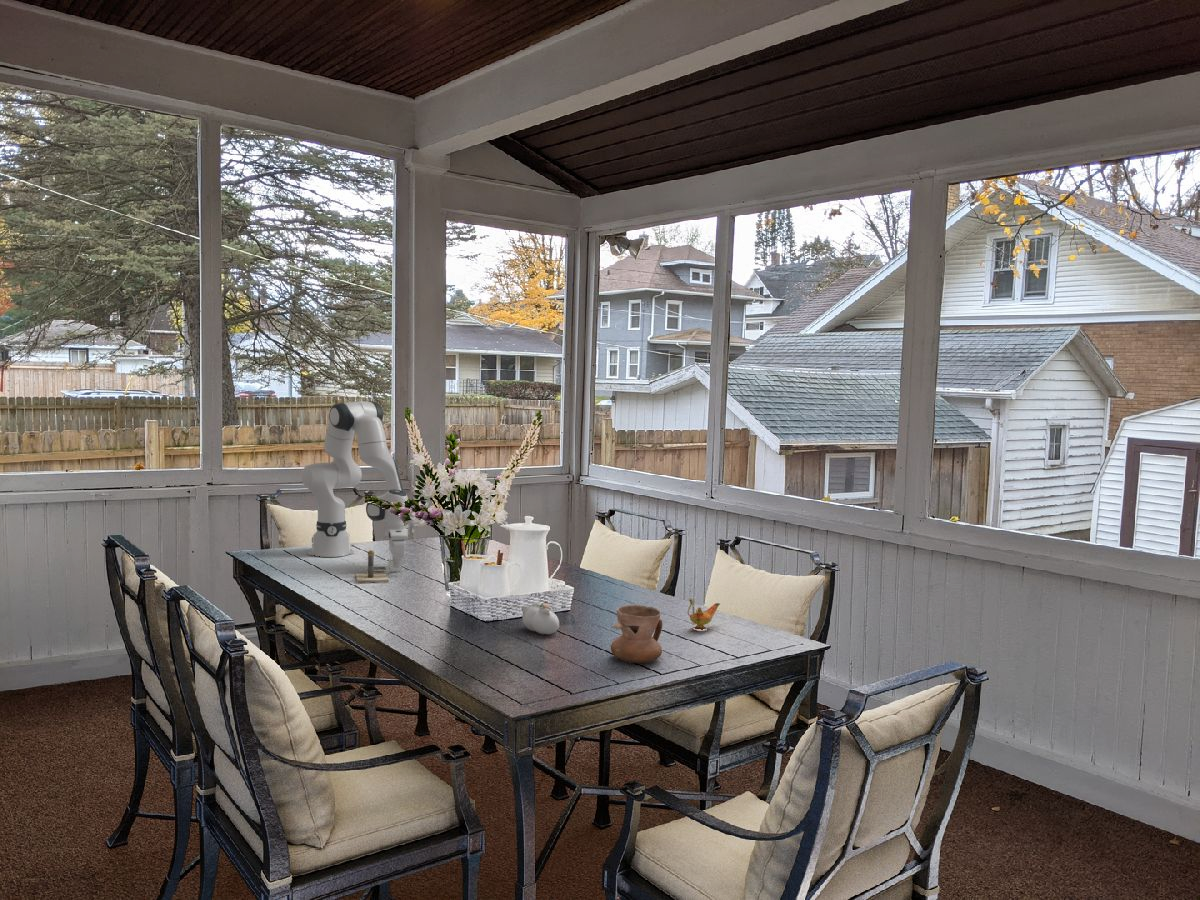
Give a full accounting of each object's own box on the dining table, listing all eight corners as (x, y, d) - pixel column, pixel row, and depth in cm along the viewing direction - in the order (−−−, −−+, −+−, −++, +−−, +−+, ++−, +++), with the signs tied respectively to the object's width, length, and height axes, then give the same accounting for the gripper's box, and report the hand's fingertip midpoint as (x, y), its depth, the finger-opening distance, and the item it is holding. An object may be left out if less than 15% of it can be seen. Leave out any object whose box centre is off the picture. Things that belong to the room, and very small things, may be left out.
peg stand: (355, 575, 341) (355, 546, 340) (384, 574, 344) (385, 545, 343) (357, 583, 328) (358, 553, 327) (388, 582, 332) (388, 552, 331)
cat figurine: (561, 606, 270) (527, 591, 280) (543, 623, 266) (509, 607, 275) (569, 628, 275) (535, 613, 285) (551, 646, 271) (518, 630, 280)
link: (366, 570, 351) (366, 559, 350) (400, 568, 355) (400, 557, 355) (368, 574, 343) (368, 563, 343) (403, 573, 348) (403, 562, 347)
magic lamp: (727, 625, 290) (729, 592, 289) (695, 636, 277) (697, 601, 276) (709, 621, 295) (711, 588, 294) (677, 631, 281) (679, 597, 280)
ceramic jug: (630, 671, 241) (633, 620, 240) (596, 656, 252) (599, 607, 251) (677, 661, 253) (681, 612, 251) (643, 647, 264) (646, 600, 263)
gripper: (385, 527, 358) (385, 561, 359) (391, 536, 339) (390, 572, 340) (401, 526, 360) (401, 560, 361) (408, 536, 341) (407, 571, 342)
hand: (396, 566), depth 350 cm, fingers closed on link, 2 cm apart
